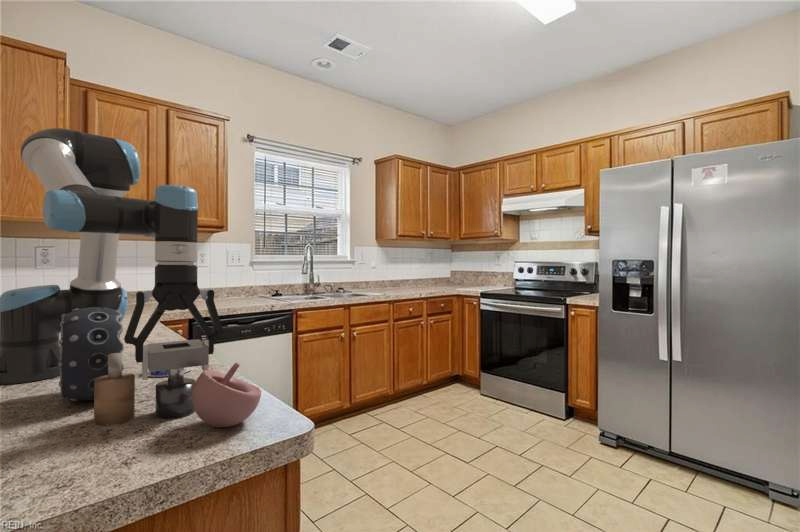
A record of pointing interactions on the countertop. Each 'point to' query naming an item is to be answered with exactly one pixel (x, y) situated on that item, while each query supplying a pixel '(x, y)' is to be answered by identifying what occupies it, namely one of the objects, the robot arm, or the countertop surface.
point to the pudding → (164, 372)
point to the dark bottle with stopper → (174, 396)
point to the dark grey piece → (87, 349)
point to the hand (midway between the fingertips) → (176, 374)
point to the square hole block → (177, 355)
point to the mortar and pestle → (224, 398)
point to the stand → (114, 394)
